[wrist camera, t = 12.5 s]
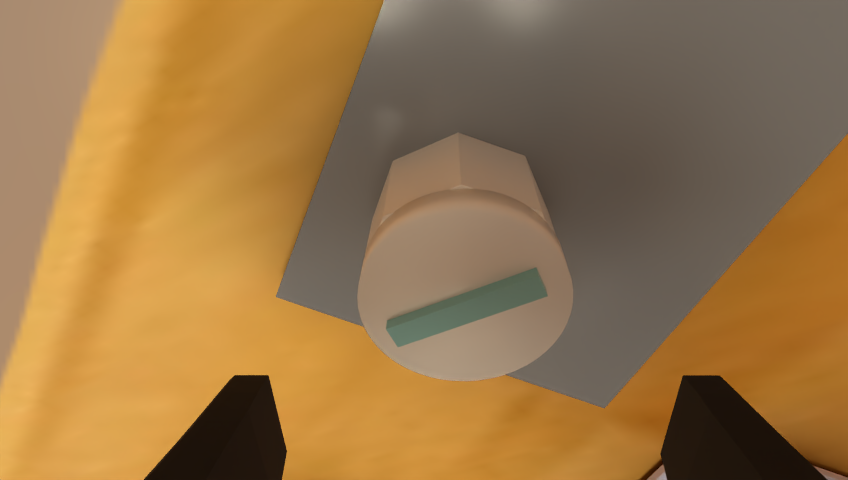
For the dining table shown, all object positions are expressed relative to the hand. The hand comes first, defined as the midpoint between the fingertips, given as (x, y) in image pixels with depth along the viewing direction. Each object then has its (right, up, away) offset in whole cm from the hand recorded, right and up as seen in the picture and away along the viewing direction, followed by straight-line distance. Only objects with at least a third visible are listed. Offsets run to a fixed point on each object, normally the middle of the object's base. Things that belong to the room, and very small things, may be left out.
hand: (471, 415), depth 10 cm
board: (+3, +6, +6) cm, 9 cm away
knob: (0, +4, +6) cm, 7 cm away
